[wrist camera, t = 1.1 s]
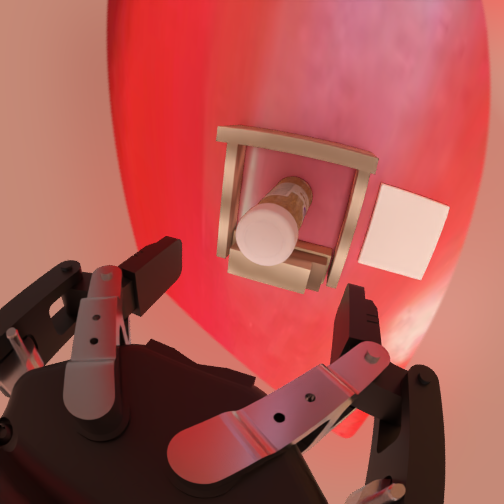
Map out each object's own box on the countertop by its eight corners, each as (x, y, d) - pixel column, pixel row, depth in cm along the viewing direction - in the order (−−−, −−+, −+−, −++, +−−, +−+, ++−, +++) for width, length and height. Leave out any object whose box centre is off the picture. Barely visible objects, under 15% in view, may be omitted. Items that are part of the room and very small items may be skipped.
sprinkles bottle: (315, 211, 32) (298, 267, 20) (277, 214, 33) (240, 268, 22) (310, 173, 30) (289, 207, 18) (271, 177, 31) (227, 213, 20)
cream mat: (381, 182, 28) (382, 183, 27) (447, 205, 26) (449, 207, 25) (357, 259, 33) (357, 262, 32) (419, 276, 31) (420, 280, 30)
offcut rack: (238, 125, 30) (217, 126, 24) (371, 152, 27) (378, 158, 21) (225, 249, 38) (206, 270, 33) (335, 279, 35) (333, 306, 29)
